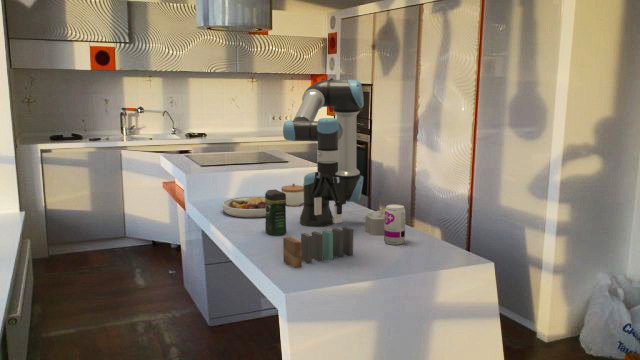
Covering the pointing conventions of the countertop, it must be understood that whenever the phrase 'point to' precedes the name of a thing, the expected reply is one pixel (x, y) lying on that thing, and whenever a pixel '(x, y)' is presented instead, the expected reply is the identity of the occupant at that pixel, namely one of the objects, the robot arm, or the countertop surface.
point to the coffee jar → (275, 212)
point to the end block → (292, 251)
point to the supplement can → (394, 224)
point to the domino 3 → (327, 244)
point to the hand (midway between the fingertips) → (327, 218)
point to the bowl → (245, 207)
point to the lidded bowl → (293, 194)
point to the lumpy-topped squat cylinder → (375, 223)
